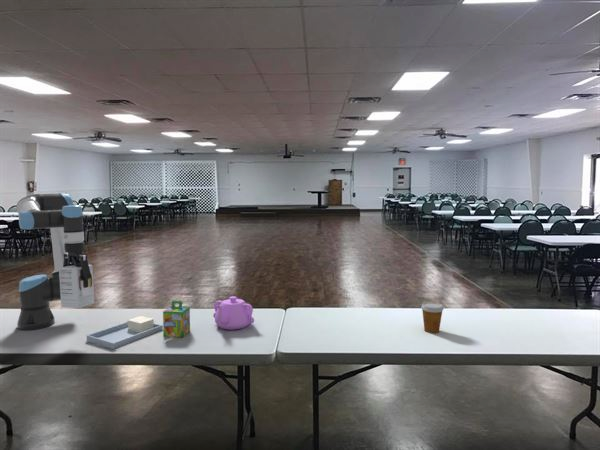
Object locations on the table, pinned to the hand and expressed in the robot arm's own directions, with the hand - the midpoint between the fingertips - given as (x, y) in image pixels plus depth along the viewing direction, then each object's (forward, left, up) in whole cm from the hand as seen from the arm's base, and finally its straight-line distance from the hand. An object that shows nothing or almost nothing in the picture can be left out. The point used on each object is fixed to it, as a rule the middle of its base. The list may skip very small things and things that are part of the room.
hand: (77, 293), depth 181 cm
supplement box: (0, 0, -5) cm, 5 cm away
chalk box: (+31, +26, -21) cm, 45 cm away
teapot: (+46, +45, -21) cm, 68 cm away
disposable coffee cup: (+128, +86, -21) cm, 155 cm away
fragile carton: (+13, +21, -20) cm, 32 cm away
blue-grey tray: (+13, +13, -21) cm, 28 cm away
